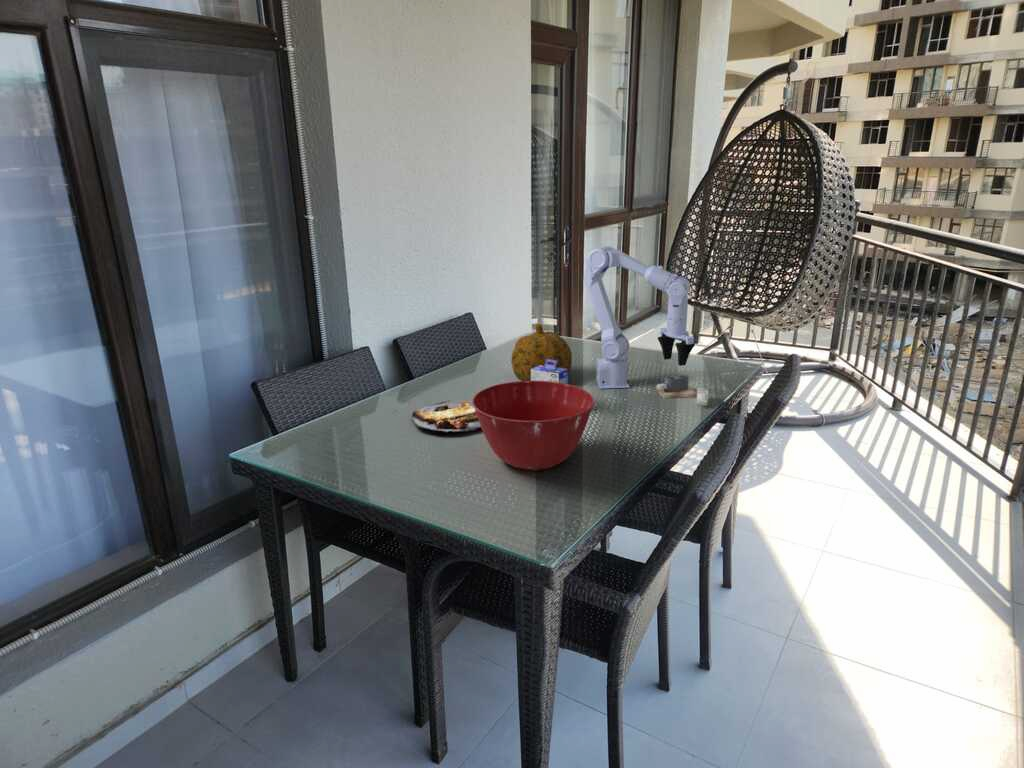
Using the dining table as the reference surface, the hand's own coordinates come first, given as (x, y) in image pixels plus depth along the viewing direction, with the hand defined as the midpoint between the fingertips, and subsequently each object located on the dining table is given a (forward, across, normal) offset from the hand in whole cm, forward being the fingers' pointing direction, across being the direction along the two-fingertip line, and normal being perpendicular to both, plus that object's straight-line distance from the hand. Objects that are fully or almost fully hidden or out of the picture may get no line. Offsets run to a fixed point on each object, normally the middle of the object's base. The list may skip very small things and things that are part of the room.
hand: (674, 362), depth 197 cm
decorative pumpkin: (+10, +29, +32) cm, 44 cm away
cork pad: (+10, -1, 0) cm, 10 cm away
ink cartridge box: (+10, +3, +41) cm, 42 cm away
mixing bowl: (+10, -28, +59) cm, 66 cm away
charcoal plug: (+8, -1, +1) cm, 9 cm away
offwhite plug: (+10, -12, -1) cm, 16 cm away
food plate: (+10, +5, +69) cm, 70 cm away
